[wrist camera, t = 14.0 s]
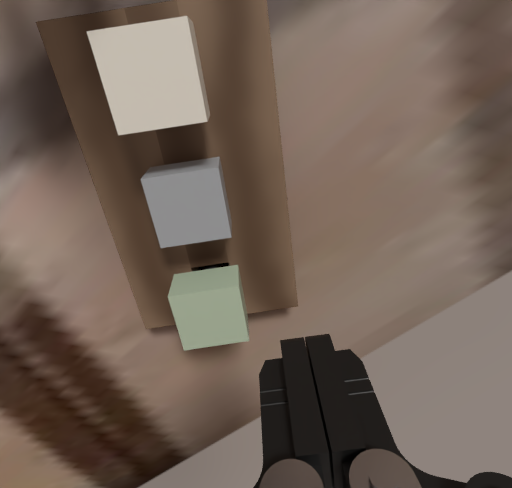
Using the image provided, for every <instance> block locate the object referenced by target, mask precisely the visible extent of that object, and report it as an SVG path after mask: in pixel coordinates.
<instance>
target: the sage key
mask: <svg viewBox="0 0 512 488" xmlns="http://www.w3.org/2000/svg"><path fill="white" fill-rule="evenodd" d="M168 300H169V303H170V306H171V309H172V313H173V316H174V319H175V322H176V326H177V329H178V332H179V335H180V339H181V342H182V345H183V349H184V351H185V350H191V349H198V348H205V347H211V346H218V345H225V344H231V343H238V342H245V341H249V329H248V315H247V310H246V304H245V299H244V294H243V288H242V283H241V278H240V272H239V267H238V265H232V266H226V267H217V266H210V267H207V268H205V269H204V270H199V271H193V272H186V273H179V274H174V276H173V280H172V283H171V287H170V290H169V294H168Z"/></svg>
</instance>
